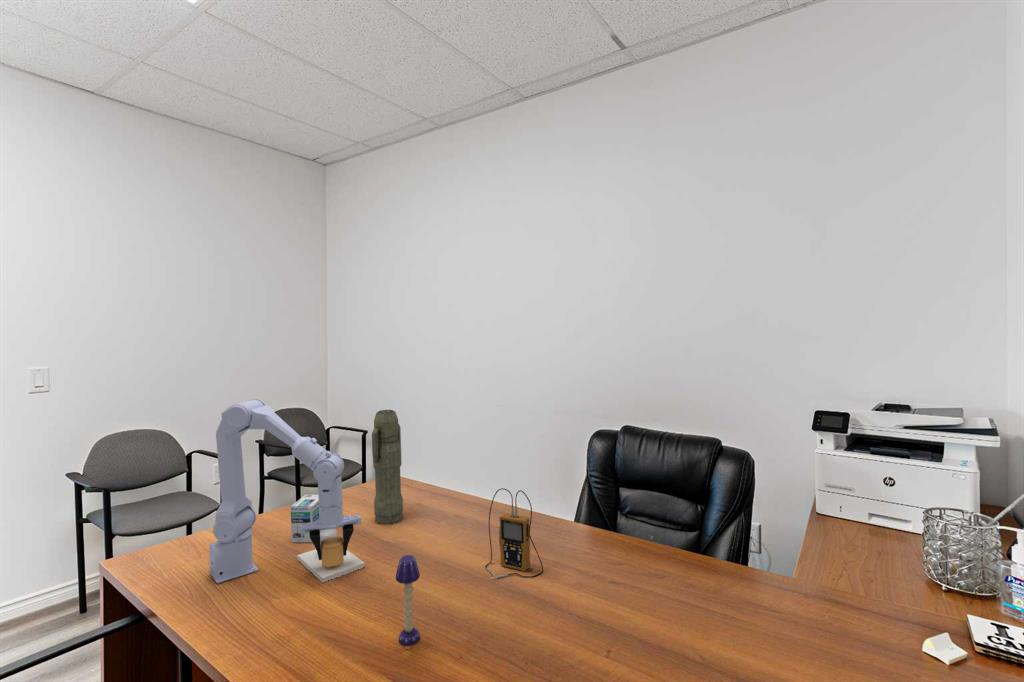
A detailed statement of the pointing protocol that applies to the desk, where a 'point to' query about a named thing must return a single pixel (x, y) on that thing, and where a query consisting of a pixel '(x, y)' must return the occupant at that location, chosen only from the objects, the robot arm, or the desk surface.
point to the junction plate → (327, 571)
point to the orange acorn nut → (332, 551)
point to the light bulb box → (303, 516)
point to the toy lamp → (408, 598)
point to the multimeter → (514, 540)
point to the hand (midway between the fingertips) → (332, 556)
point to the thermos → (387, 467)
